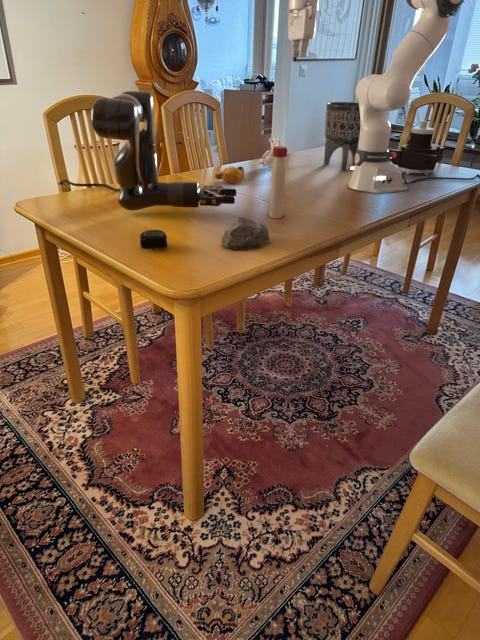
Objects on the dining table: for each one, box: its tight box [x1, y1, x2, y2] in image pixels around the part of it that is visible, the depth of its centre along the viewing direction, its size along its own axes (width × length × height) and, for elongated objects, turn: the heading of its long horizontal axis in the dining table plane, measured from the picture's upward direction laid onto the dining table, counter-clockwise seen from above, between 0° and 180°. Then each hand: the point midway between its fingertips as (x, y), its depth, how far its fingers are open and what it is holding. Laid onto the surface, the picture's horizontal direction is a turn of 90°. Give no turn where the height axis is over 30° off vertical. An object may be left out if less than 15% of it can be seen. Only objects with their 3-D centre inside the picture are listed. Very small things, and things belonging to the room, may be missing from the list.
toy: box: [214, 165, 246, 184], centre depth 181 cm, size 11×6×15 cm
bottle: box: [269, 157, 287, 219], centre depth 138 cm, size 4×4×20 cm
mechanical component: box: [388, 120, 446, 176], centre depth 202 cm, size 22×21×30 cm
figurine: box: [258, 136, 282, 169], centre depth 203 cm, size 8×15×13 cm, turn 146°
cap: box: [273, 145, 288, 158], centre depth 134 cm, size 4×4×2 cm
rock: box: [221, 216, 270, 250], centre depth 119 cm, size 13×9×6 cm, turn 131°
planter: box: [323, 101, 360, 172], centre depth 204 cm, size 20×20×26 cm
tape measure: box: [139, 229, 168, 250], centre depth 117 cm, size 7×7×4 cm
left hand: (235, 196), depth 140 cm, fingers open, 8 cm apart
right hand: (298, 57), depth 142 cm, fingers open, 8 cm apart
